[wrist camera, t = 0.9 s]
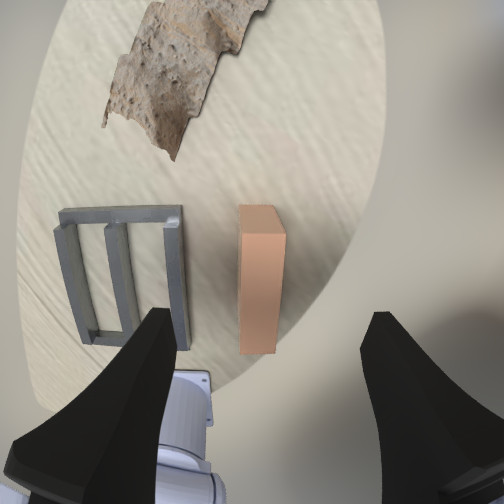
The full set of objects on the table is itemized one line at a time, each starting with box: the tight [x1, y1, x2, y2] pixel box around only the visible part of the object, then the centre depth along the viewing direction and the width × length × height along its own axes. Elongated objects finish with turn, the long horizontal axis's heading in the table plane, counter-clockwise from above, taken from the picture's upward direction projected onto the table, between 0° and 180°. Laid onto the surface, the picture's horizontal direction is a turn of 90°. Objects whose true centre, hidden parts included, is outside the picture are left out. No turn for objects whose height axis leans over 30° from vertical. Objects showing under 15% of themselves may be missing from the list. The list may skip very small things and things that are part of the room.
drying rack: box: [53, 205, 191, 351], centre depth 24 cm, size 13×10×2 cm
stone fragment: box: [101, 0, 268, 162], centre depth 17 cm, size 25×3×10 cm
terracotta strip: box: [237, 205, 286, 354], centre depth 23 cm, size 9×2×6 cm, turn 178°
